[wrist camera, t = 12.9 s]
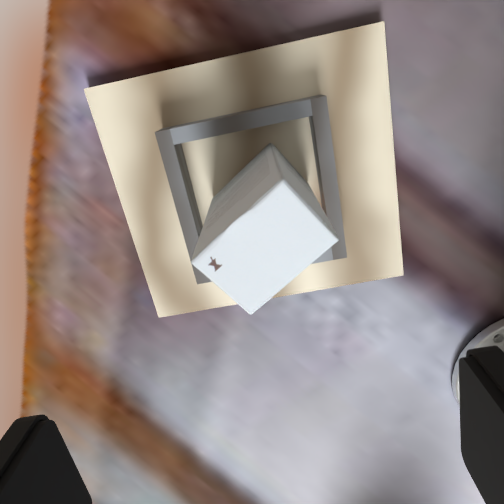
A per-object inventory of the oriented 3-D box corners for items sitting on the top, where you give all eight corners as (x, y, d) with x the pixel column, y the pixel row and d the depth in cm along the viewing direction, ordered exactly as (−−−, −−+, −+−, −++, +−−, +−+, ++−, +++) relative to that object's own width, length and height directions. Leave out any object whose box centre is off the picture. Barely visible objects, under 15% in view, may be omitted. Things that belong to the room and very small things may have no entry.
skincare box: (251, 237, 32) (248, 320, 21) (211, 197, 31) (185, 263, 20) (312, 182, 31) (343, 241, 19) (272, 139, 29) (280, 174, 18)
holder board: (379, 23, 28) (396, 15, 24) (399, 269, 34) (414, 289, 31) (89, 88, 29) (68, 89, 26) (161, 311, 36) (151, 334, 33)
